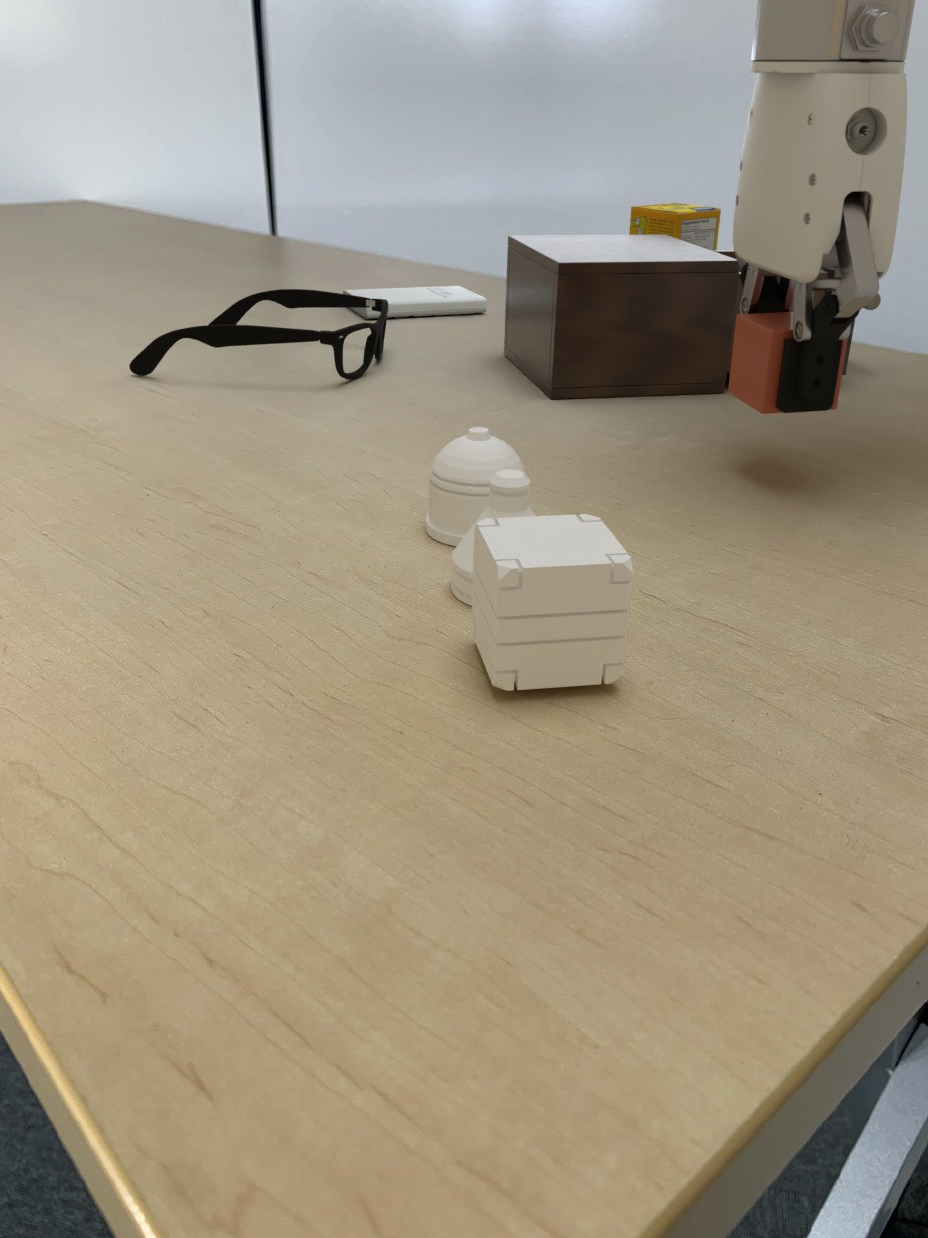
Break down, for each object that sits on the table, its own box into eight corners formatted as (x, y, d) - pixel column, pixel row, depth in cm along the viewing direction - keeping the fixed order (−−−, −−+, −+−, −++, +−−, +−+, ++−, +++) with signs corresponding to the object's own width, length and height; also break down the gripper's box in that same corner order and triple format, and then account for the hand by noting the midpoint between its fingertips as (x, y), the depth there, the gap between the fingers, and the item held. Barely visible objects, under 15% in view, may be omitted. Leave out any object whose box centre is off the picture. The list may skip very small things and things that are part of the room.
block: (798, 388, 66) (809, 310, 64) (837, 409, 62) (850, 327, 60) (727, 392, 65) (736, 313, 63) (761, 414, 61) (772, 330, 59)
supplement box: (661, 320, 108) (672, 201, 103) (709, 330, 104) (723, 207, 99) (619, 327, 105) (629, 204, 100) (667, 338, 100) (680, 210, 96)
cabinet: (655, 350, 96) (666, 234, 92) (724, 393, 83) (741, 260, 79) (503, 354, 93) (507, 235, 89) (551, 399, 80) (558, 262, 76)
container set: (625, 692, 42) (638, 559, 40) (491, 701, 41) (495, 566, 39) (515, 509, 60) (519, 409, 57) (419, 513, 59) (419, 412, 56)
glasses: (348, 405, 81) (349, 336, 78) (123, 377, 83) (118, 310, 81) (404, 356, 95) (406, 297, 93) (211, 333, 98) (209, 275, 96)
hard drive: (343, 305, 112) (457, 299, 116) (366, 320, 105) (486, 313, 109) (342, 288, 111) (457, 283, 115) (366, 303, 104) (487, 296, 108)
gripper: (1001, 38, 49) (923, 437, 57) (816, 44, 64) (775, 359, 72) (846, 37, 47) (789, 446, 56) (694, 43, 62) (666, 365, 70)
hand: (781, 393), depth 64 cm, fingers closed on block, 4 cm apart
